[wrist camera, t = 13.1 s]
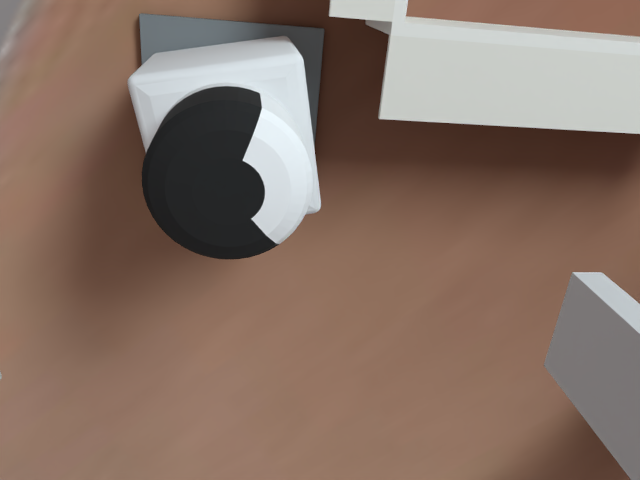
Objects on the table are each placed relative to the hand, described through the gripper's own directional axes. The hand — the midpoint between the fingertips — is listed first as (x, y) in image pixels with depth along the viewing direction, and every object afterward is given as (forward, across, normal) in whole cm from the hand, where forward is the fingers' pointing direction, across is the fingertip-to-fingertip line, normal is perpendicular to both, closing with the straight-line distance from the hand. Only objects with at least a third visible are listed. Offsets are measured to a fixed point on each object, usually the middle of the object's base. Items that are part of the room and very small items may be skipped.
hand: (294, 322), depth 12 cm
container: (+22, +2, 0) cm, 22 cm away
